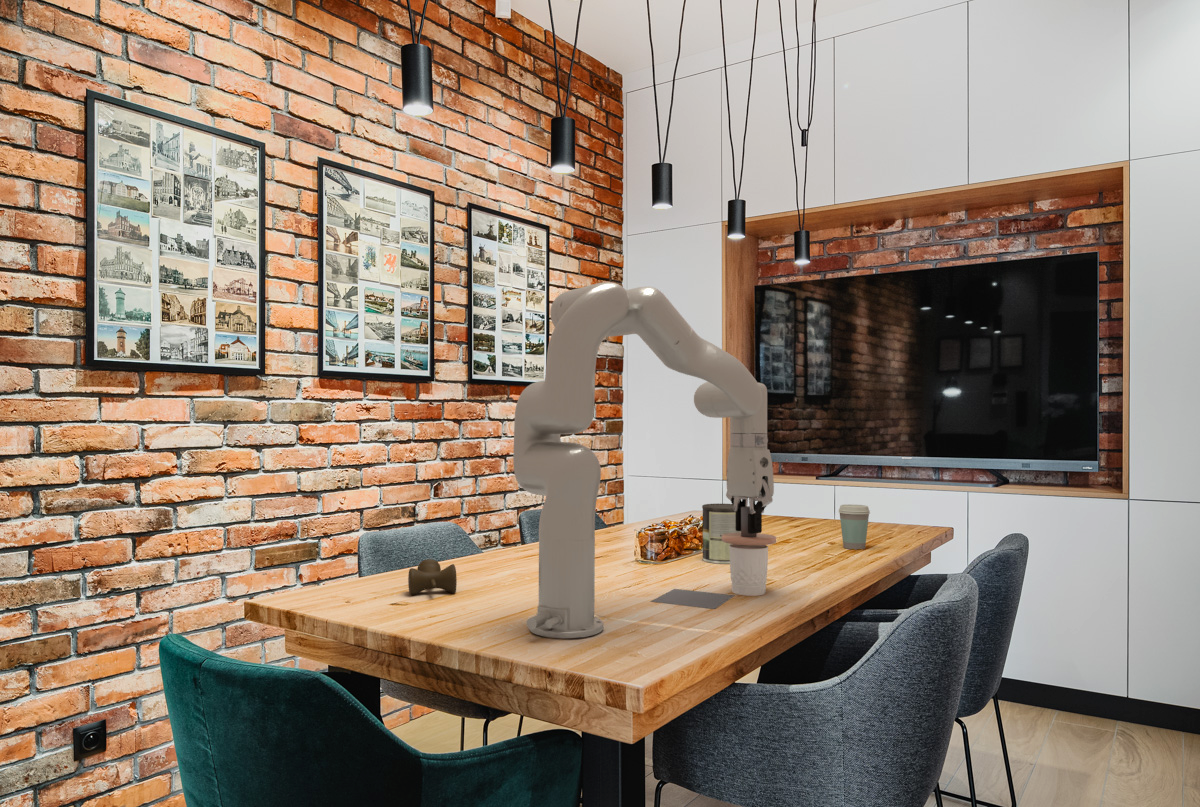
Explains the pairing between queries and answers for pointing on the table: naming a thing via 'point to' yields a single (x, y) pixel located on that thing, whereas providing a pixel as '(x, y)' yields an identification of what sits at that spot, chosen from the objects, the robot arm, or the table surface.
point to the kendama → (432, 577)
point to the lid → (746, 537)
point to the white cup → (748, 569)
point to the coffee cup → (854, 525)
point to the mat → (693, 598)
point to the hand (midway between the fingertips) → (748, 530)
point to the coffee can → (717, 532)
